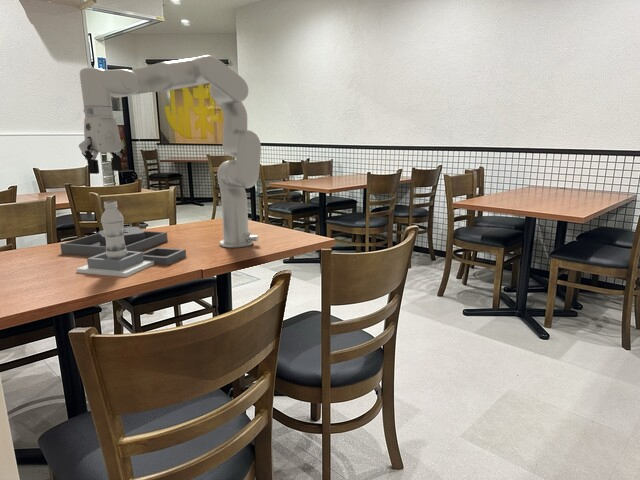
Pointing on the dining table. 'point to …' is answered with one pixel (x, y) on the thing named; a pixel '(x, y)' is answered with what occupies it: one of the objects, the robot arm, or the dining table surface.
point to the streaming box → (126, 235)
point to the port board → (116, 265)
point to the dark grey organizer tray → (93, 247)
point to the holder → (170, 254)
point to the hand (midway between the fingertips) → (106, 172)
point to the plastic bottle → (113, 231)
